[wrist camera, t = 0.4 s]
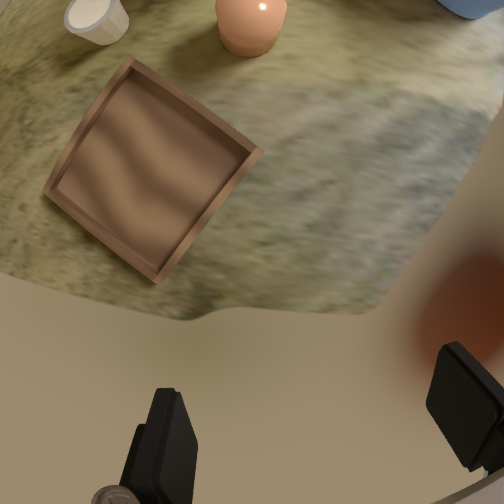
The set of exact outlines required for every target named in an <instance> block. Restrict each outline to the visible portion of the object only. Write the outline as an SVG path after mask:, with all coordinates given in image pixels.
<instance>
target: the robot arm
mask: <svg viewBox="0 0 504 504" xmlns="http://www.w3.org/2000/svg"><path fill="white" fill-rule="evenodd" d="M426 407H427V409H428V411H429V413H430V414H431V416H432V417H433V419H434V421H435V422H436V424H437V425H438V427H439V428H440V430H441V432H442V433H443V435H444V436H445V438H446V439H447V441H448V443H449V444H450V446H451V447H452V449H453V451H454V452H455V454H456V456H457V457H458V459H459V461H460V462H461V464H462V465H463V467H465V468H466V467H467V468H468V470H469V472H473V471H475V470H476V469H478V468H480V467H481V466H483V467H484V469H485V470H484V475H483V479H482V480H480V481H478V482H476V483H474V484H472V485H470V486H469V487H466V488H464V489H462V490H460V491H458V492H456V493H454V494H452V495H450V496H448V497H445V498H443V499H441V500H439V501H436V502H434V503H432V504H504V388H503V387H502V386H501V385H500V384H499V383H498V381H497V380H496V379H495V378H494V377H493V376H492V375H491V374H490V373H489V372H488V371H487V370H486V369H485V368H484V367H483V366H482V365H481V364H480V363H479V362H478V361H477V360H476V359H475V358H474V357H473V356H472V355H471V354H470V353H469V352H468V351H467V350H466V349H465V348H464V347H463V346H462V345H461V344H460V343H459V342H458V341H455V342H451V343H448V344H445V345H443V346H442V349H441V350H440V351H439V353H438V357H437V361H436V366H435V370H434V374H433V377H432V381H431V385H430V389H429V392H428V396H427V399H426ZM197 452H198V443H197V439H196V436H195V433H194V431H193V428H192V425H191V422H190V419H189V416H188V414H187V411H186V408H185V405H184V402H183V399H182V396H181V393H180V392H176V391H175V389H174V388H158V389H157V390H156V392H155V395H154V398H153V401H152V405H151V408H150V411H149V414H148V418H147V421H146V424H139V425H138V426H137V429H136V431H135V435H134V438H133V441H132V444H131V447H130V450H129V453H128V457H127V460H126V463H125V466H124V470H123V473H122V476H121V480H120V483H119V485H109V486H106V487H103V488H101V489H100V490H98V491H97V492H96V493H95V494H94V496H93V498H92V501H91V504H192V498H193V489H194V480H195V470H196V461H197Z"/></svg>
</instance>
